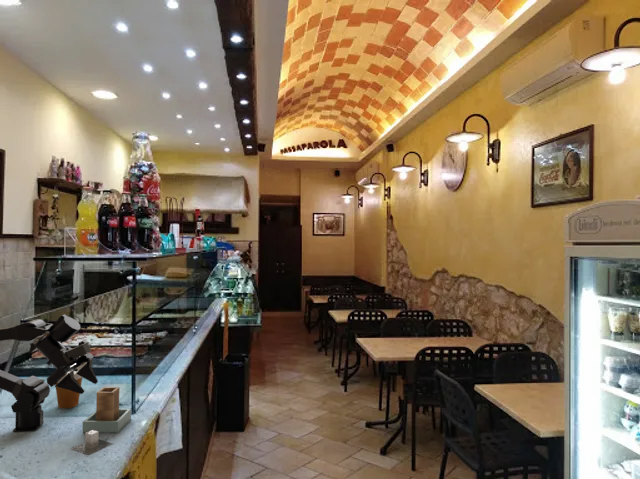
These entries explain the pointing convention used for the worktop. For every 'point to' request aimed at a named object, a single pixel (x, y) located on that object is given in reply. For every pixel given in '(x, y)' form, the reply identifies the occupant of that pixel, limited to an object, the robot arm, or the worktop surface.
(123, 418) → the tray
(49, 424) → the worktop surface
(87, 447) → the stake base
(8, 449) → the worktop surface
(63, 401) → the disposable coffee cup
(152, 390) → the worktop surface
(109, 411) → the sleeve
